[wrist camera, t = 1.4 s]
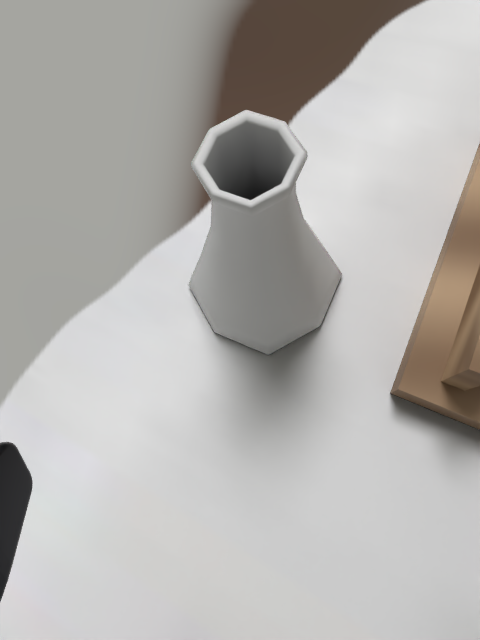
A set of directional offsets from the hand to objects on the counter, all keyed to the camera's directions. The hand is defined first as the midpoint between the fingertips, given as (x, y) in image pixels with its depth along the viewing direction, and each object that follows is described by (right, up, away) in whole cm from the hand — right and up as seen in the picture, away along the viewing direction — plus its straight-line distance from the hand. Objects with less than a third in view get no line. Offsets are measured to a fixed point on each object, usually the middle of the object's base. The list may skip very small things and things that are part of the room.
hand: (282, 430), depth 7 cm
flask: (+1, +4, +15) cm, 16 cm away
